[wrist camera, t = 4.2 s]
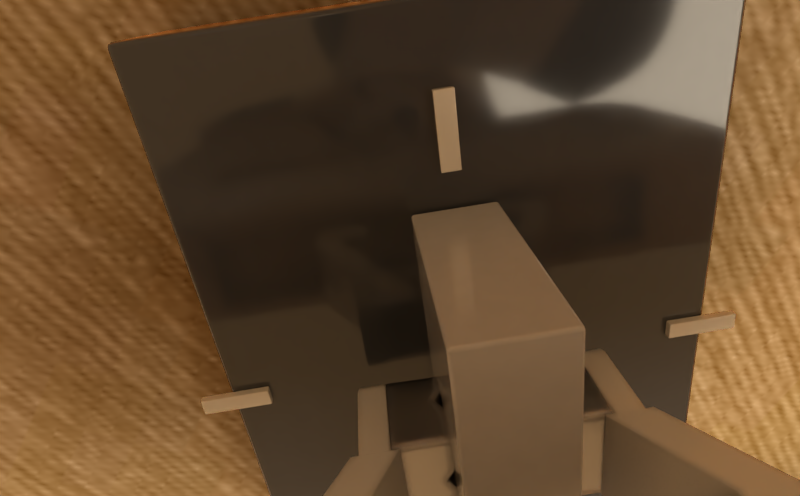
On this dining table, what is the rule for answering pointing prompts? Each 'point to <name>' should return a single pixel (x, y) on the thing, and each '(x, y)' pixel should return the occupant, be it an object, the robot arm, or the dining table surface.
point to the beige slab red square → (501, 355)
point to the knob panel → (431, 187)
